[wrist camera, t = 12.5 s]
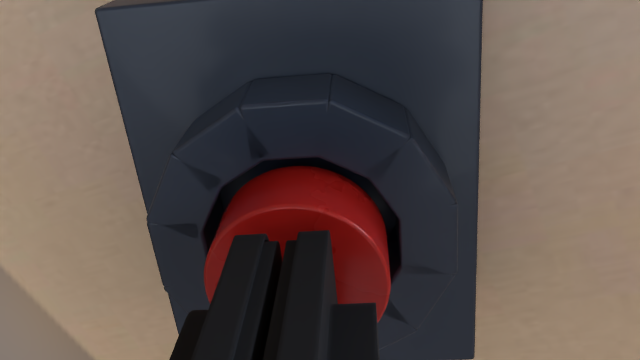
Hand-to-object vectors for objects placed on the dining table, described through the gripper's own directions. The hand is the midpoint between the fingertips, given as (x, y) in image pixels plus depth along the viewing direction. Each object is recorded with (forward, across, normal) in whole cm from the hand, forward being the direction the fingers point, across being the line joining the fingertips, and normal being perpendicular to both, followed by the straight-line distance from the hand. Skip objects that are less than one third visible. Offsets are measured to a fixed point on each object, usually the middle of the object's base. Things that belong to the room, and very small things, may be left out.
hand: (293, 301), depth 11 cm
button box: (+6, 0, 0) cm, 7 cm away
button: (+2, 0, 0) cm, 2 cm away
